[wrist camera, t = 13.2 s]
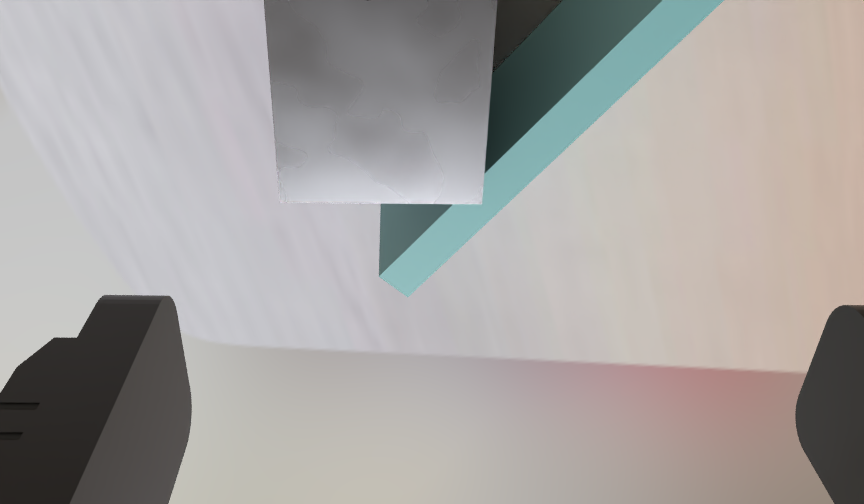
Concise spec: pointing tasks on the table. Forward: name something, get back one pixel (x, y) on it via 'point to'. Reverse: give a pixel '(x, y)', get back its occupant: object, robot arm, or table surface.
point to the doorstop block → (380, 99)
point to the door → (539, 116)
